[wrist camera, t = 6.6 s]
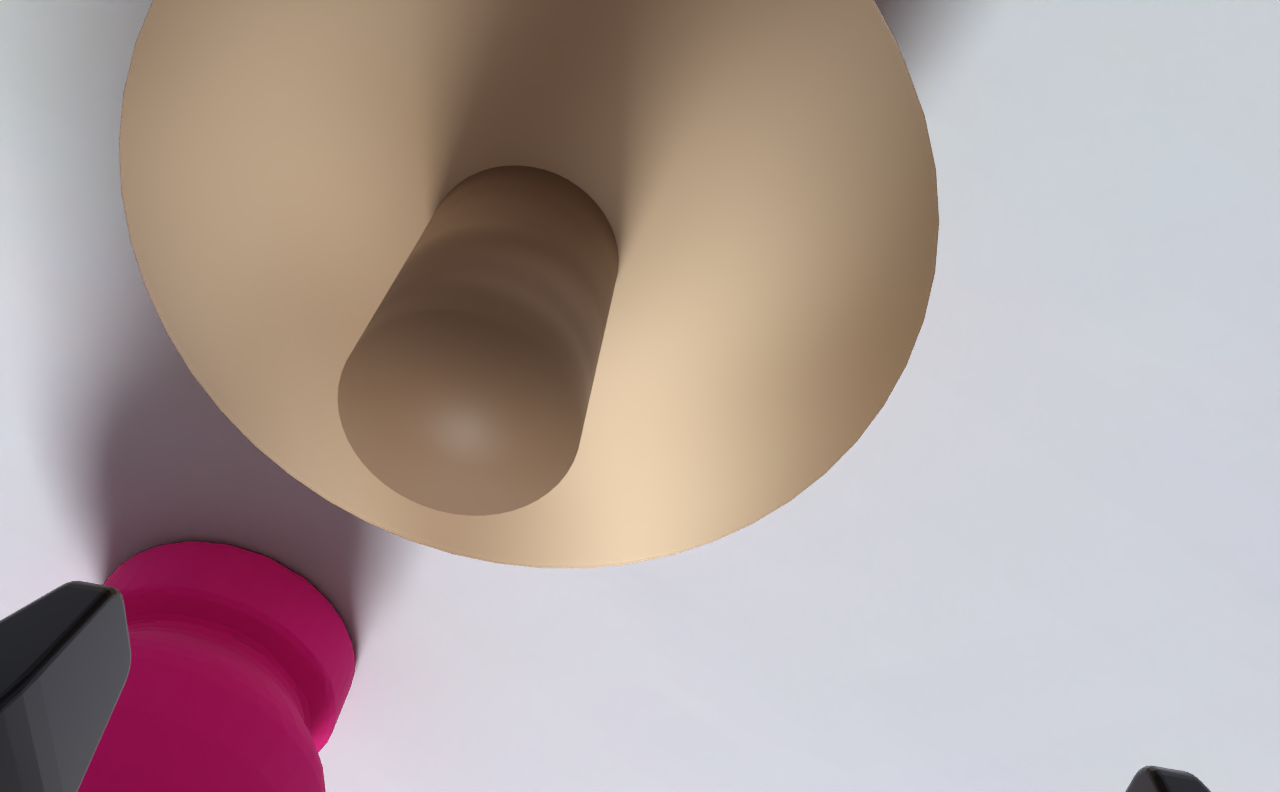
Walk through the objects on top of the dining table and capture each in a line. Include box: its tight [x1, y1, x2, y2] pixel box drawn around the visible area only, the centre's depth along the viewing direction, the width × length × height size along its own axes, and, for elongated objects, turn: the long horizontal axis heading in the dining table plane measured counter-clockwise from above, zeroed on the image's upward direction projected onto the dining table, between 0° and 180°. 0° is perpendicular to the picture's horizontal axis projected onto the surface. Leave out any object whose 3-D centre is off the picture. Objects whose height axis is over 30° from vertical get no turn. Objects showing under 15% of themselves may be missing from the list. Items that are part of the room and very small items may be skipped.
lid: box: [119, 0, 939, 568], centre depth 14 cm, size 11×11×5 cm
